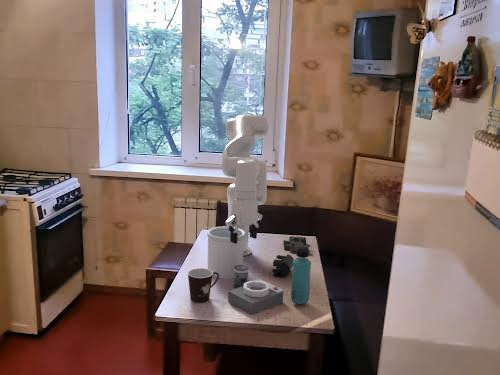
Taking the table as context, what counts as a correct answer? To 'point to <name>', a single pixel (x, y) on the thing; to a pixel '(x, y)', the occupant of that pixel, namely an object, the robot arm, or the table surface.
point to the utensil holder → (224, 251)
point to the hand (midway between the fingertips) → (243, 240)
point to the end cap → (282, 265)
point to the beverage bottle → (301, 277)
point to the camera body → (255, 296)
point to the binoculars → (295, 244)
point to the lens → (240, 275)
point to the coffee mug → (200, 284)
